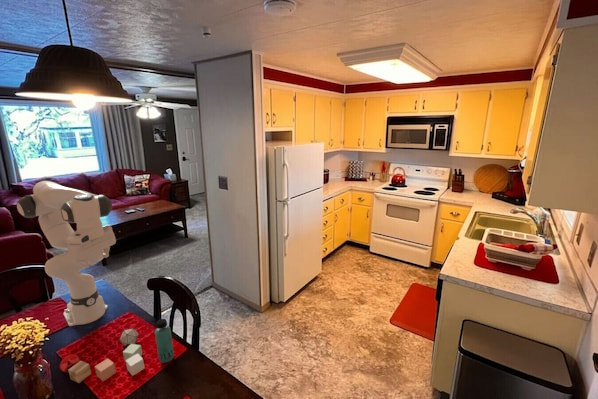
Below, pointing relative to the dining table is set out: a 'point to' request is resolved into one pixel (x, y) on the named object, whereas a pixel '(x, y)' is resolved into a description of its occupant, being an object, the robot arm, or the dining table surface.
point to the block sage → (132, 351)
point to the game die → (129, 337)
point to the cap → (66, 360)
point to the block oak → (79, 371)
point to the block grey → (135, 364)
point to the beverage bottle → (164, 341)
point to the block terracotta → (105, 369)
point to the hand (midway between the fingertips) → (97, 261)
